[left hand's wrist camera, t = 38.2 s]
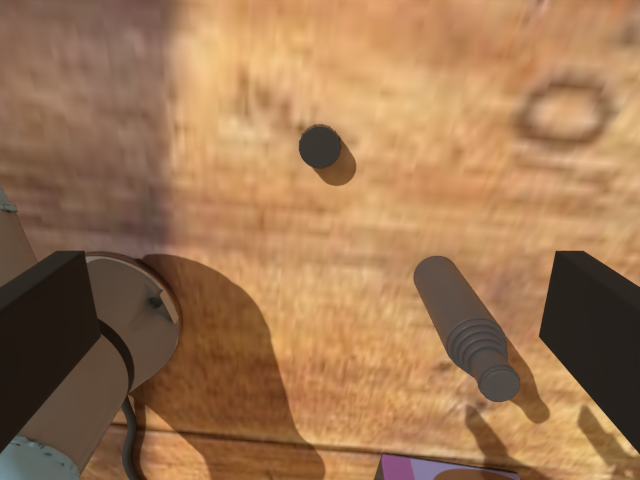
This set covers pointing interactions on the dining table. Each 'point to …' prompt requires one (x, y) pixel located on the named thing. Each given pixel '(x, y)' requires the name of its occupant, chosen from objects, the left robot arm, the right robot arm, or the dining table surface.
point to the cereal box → (434, 470)
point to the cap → (319, 146)
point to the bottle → (466, 328)
